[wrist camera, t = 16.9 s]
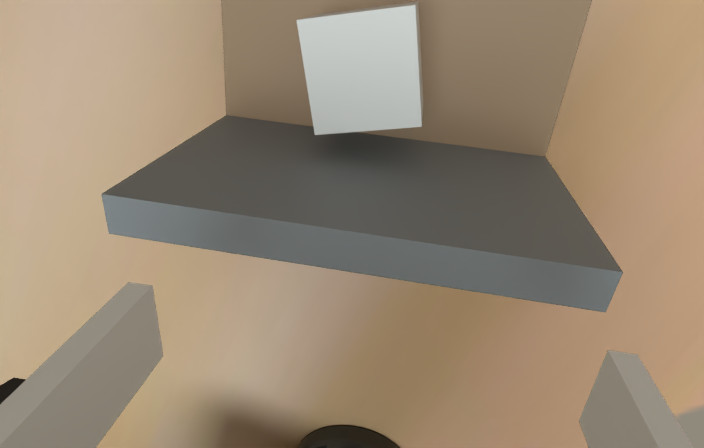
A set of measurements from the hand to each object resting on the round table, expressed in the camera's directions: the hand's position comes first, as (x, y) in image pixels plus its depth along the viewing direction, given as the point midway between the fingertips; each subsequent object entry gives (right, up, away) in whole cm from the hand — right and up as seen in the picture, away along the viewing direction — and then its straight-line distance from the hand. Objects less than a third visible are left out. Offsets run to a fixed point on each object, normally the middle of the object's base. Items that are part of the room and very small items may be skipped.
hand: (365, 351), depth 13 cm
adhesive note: (+1, +14, +16) cm, 21 cm away
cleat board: (+3, +18, +23) cm, 29 cm away
